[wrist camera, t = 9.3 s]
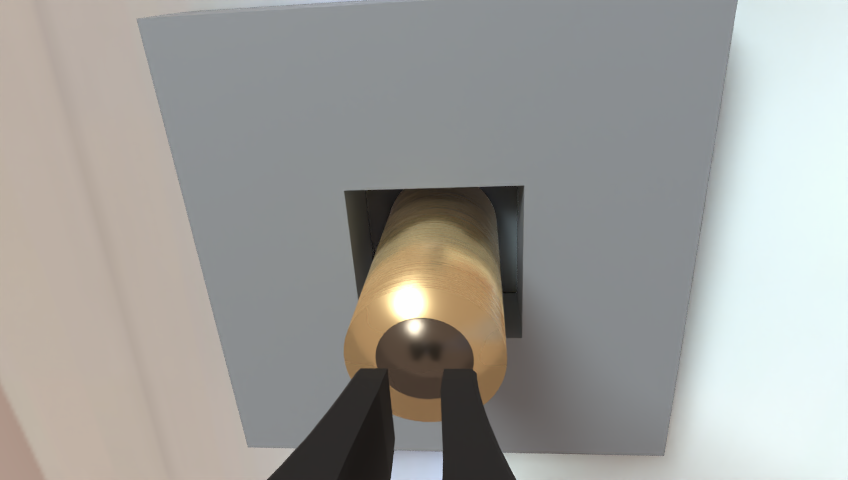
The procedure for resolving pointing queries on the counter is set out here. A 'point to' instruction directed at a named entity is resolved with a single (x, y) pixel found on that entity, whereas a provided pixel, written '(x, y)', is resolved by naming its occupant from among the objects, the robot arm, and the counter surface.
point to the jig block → (445, 168)
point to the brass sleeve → (432, 300)
